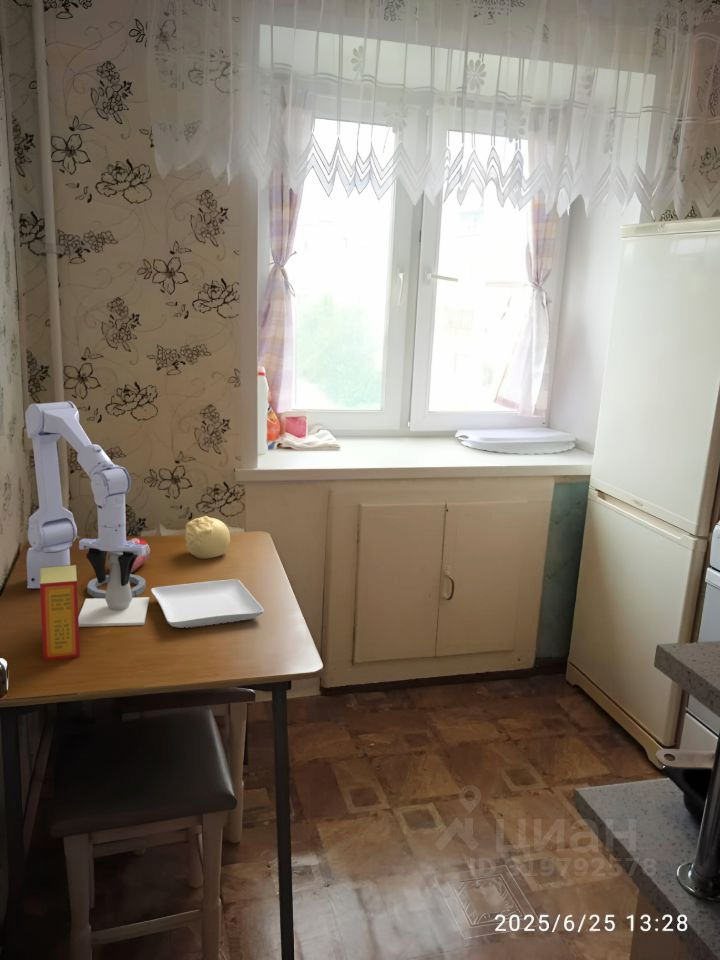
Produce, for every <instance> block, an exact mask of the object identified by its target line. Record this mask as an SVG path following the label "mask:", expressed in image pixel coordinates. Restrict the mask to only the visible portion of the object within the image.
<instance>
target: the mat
mask: <svg viewBox="0 0 720 960" xmlns="http://www.w3.org/2000/svg"><path fill="white" fill-rule="evenodd" d="M149 602H150V597H143V596H142V597H141V596H140V597H132V600H131V602H130V604H129V607H127V608H125V609H123V610H113V609H110V608H109V607H108V605H107V602H106V600H105V598H94V597H93V598H85V600H84V602H83V605H82V608H81V609H80V612H79V613H78V623H79V628H81V627H83V628H84V627H87V628H88V627H109V626H110V627H114V626H115V627H117V626H121V627H122V626H123V627H124V626H145V623H146V617H147V611H148V608H149Z"/></svg>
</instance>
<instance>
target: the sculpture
mask: <svg viewBox="0 0 720 960" xmlns="http://www.w3.org/2000/svg"><path fill="white" fill-rule="evenodd" d="M184 538H185V541H186V545H185V546H186V547H187V550H188V551H189V553H190V555H193V556H195V557H196V558H198V559H206V560H207V559H212V558H217V557H220V556H222V555H225V553H227V551H228V549H229V547H230V544H231V535H230V531H229V528H228V527H227V525H226V524H225V523H224V522H223V521H221V519H219V518H218V519H217V518H214V517H209V516H208V515H204V516H200V517H197V518H194V519H192V520H190V521H188V522H187V523H186V525H185V534H184Z"/></svg>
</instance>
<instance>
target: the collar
mask: <svg viewBox="0 0 720 960" xmlns="http://www.w3.org/2000/svg"><path fill="white" fill-rule="evenodd" d="M108 578H109V574H106V579H105V581H103V582H102V583H98V580H97V577H96V578H92V579H91V580H89V581H88V584H87V586H86V587H87V594H89V595H90V596H91V597H93V599H94V598H105V595H106V590H104V589H99V588H98V587H100V586H102V585H104V584H108ZM129 583H130V584H135V586H133V587H131V592H132V598H136V597H137V596H139V595H141V594H142V593H144V592H145V590H146V586H147V584H146V583H147V582H146V579H145V578H144V577H142V576H141V575H137V574H133V573H131V574H130V577H129Z"/></svg>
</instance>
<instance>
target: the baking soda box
mask: <svg viewBox="0 0 720 960" xmlns="http://www.w3.org/2000/svg"><path fill="white" fill-rule="evenodd" d="M77 578H78V577H77V565H76V564H70V565H66V566H52V567H41V573H40V588H39V590H40V591H39V592H40V593H39V596H40V613H41V614H40V615H41V631H42V632H41V633H42V634H41V635H42V651H43V652H42V655H43V661H44V662H46V661H54V660H63V659H64V660H65V659H72V658H73V659H74V658H81V656H80V655H81V653H80V652H81V651H80V632H79V631H80V627H79V623H78V617H79V609H78V608H79V605H78V604H79V603H78V602H79V600H78V597H79V596H78V579H77Z"/></svg>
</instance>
